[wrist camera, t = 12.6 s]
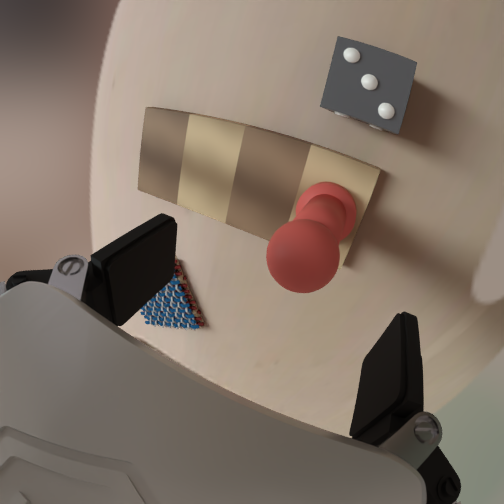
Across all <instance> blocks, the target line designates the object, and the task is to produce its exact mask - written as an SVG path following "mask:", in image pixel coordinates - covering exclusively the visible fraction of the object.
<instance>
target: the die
mask: <svg viewBox="0 0 504 504" xmlns="http://www.w3.org/2000/svg"><path fill="white" fill-rule="evenodd" d="M416 65H417V62H415V61H413V60H410V59H408V58H405V57H403V56H400V55H398V54H395V53H392V52H389V51H386V50H384V49H381V48H378V47H375V46H371V45H368V44H365V43H362V42H358V41H355V40H351V39H347V38H343V37H339V36H338V37H337V41H336V46H335V50H334V54H333V58H332V62H331V66H330V70H329V74H328V78H327V82H326V85H325V89H324V93H323V97H322V101H321V105H320V107H322V108H325V109H327V110H329V111H332V112H335V113H334V114H337V115H340V116H343V117H346V118H349V117H351V118H353V119H356V120H359V121H362V122H365V123H367V124H370V125H369V126H371V127H373V128H376V129H378V130H381V131H382V129H383V130H385V131H388V132H390V133H394V134H399V130H400V127H401V124H402V120H403V117H404V113H405V110H406V106H407V102H408V99H409V95H410V91H411V87H412V83H413V79H414V74H415V70H416Z"/></svg>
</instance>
